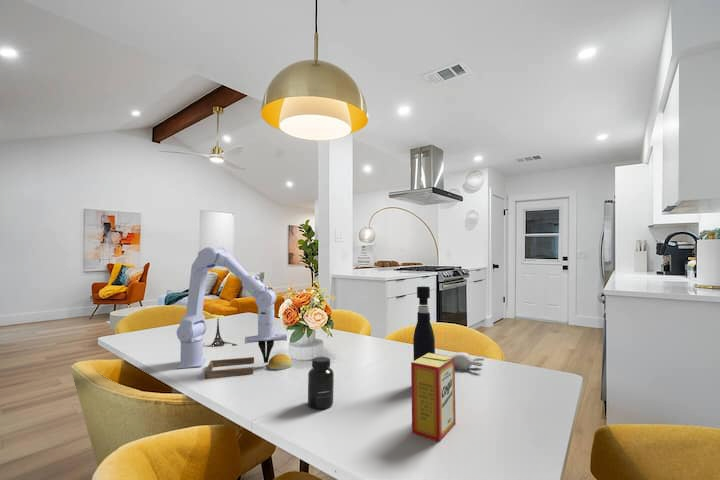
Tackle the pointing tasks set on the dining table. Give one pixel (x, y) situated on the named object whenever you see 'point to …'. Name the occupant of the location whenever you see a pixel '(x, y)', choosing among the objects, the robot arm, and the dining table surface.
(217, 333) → the eiffel tower figurine
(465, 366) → the grey fingered piece
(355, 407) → the dining table surface
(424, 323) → the wine bottle
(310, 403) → the supplement bottle
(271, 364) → the bread roll
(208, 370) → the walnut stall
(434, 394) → the baking soda box
